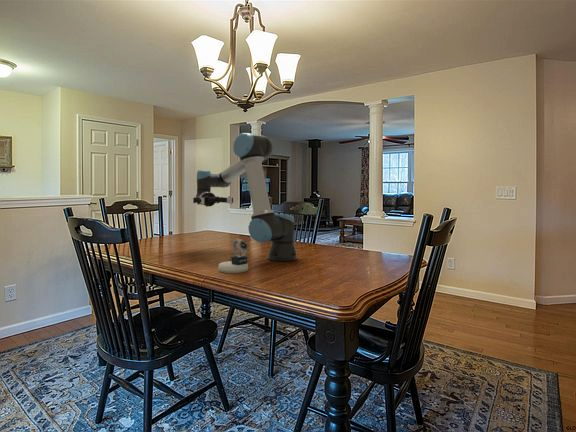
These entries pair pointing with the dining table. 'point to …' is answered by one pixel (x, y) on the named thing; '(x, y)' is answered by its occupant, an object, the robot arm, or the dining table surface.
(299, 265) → the dining table surface
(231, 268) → the display plinth
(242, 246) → the watch
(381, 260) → the dining table surface
